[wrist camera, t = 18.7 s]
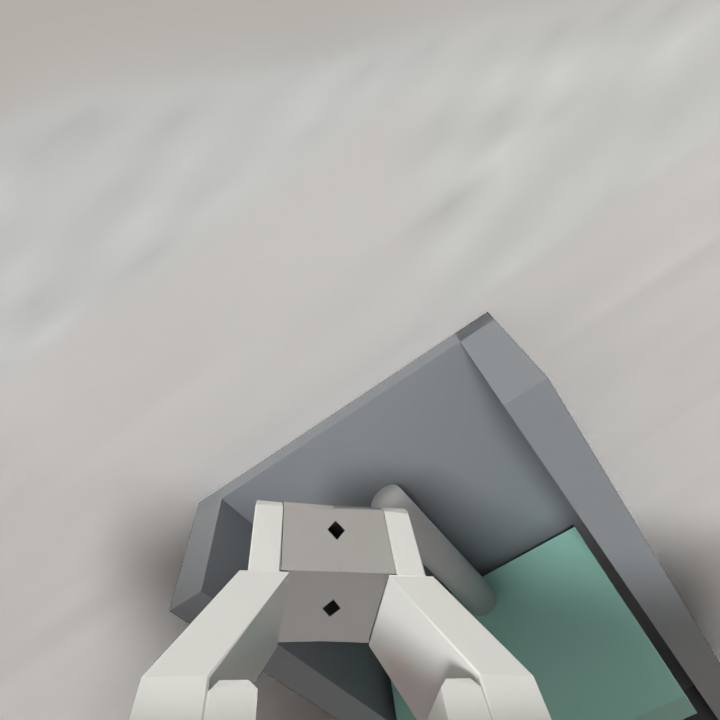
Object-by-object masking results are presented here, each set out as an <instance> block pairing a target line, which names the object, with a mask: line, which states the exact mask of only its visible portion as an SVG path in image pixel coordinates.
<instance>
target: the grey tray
mask: <svg viewBox="0 0 720 720" xmlns="http://www.w3.org/2000/svg"><path fill="white" fill-rule="evenodd" d="M388 485H397V486H399V487H400V488H401V489H402V490H403V492H404V493H405V494H406V495H407V496H408V497H409V498H410V499H411V500H412V501H413V502H414V503H415V505H416V506H417V507H418V508H419V509H420V510H421V511H422V512H423V513H424V514H425V515H426V517H427V518H428V519H429V520H430V521H431V522H432V523H433V524H434V525H435V526H436V527H437V528H438V530H439V531H440V532H441V533H442V534H443V535H444V536H445V537H446V538H447V539H448V540H449V541H450V543H451V544H452V545H453V546H454V547H455V548H456V549H457V550H458V551H459V552H460V553H461V554H462V556H463V557H464V558H465V559H466V560H467V561H468V562H469V563H470V564H471V565H472V566H473V568H474V569H475V570H476V571H477V572H478V573H479V574H480V575H481V576H482V577H483V576H485V575H486V574H488V573H490V572H492V571H494V570H496V569H497V568H499V567H501V566H503V565H505V564H507V563H509V562H510V561H512V560H514V559H516V558H518V557H520V556H521V555H523V554H525V553H527V552H529V551H531V550H533V549H534V548H536V547H538V546H540V545H542V544H544V543H545V542H547V541H549V540H551V539H553V538H555V537H557V536H558V535H560V534H562V533H564V532H566V531H568V530H569V529H571V528H573V527H575V528H576V529H577V530H578V532H579V533H580V535H581V536H582V538H583V539H584V540H585V542H586V543H587V545H588V546H589V548H590V549H591V551H592V552H593V554H594V555H595V557H596V558H597V560H598V562H599V563H600V565H601V566H602V568H603V569H604V571H605V572H606V574H607V575H608V577H609V578H610V580H611V581H612V583H613V585H614V586H615V588H616V589H617V591H618V592H619V594H620V595H621V597H622V598H623V600H624V601H625V603H626V604H627V606H628V607H629V609H630V611H631V612H632V614H633V615H634V617H635V618H636V620H637V621H638V623H639V624H640V626H641V627H642V629H643V630H644V632H645V634H646V635H647V637H648V638H649V640H650V641H651V643H652V644H653V646H654V647H655V649H656V650H657V652H658V653H659V655H660V656H661V658H662V660H663V661H664V663H665V664H666V666H667V667H668V669H669V670H670V672H671V673H672V675H673V676H674V678H675V679H676V681H677V683H678V684H679V686H680V687H681V689H682V690H683V692H684V693H685V695H686V696H687V698H688V699H689V701H690V702H691V704H692V705H693V707H694V709H695V710H696V712H697V713H696V714H694V715H692V716H689V717H687V718H685V720H720V662H719V661H718V659H717V657H716V656H715V654H714V652H713V651H712V649H711V648H710V646H709V644H708V643H707V641H706V639H705V638H704V636H703V634H702V633H701V631H700V629H699V628H698V626H697V624H696V623H695V621H694V619H693V618H692V616H691V614H690V613H689V611H688V609H687V608H686V606H685V604H684V603H683V601H682V599H681V598H680V596H679V594H678V593H677V591H676V589H675V588H674V586H673V584H672V583H671V581H670V579H669V578H668V576H667V574H666V573H665V571H664V569H663V568H662V566H661V564H660V563H659V561H658V559H657V558H656V556H655V554H654V553H653V551H652V549H651V548H650V546H649V545H648V543H647V541H646V540H645V538H644V536H643V535H642V533H641V531H640V530H639V528H638V526H637V525H636V523H635V521H634V520H633V518H632V516H631V515H630V513H629V511H628V510H627V508H626V506H625V505H624V503H623V501H622V500H621V498H620V496H619V495H618V493H617V491H616V490H615V488H614V486H613V485H612V483H611V481H610V480H609V478H608V476H607V475H606V473H605V471H604V470H603V468H602V466H601V465H600V463H599V461H598V460H597V458H596V456H595V455H594V453H593V451H592V450H591V448H590V446H589V445H588V443H587V442H586V440H585V438H584V437H583V435H582V433H581V432H580V430H579V428H578V427H577V425H576V423H575V422H574V420H573V418H572V417H571V415H570V413H569V412H568V410H567V408H566V407H565V405H564V403H563V402H562V400H561V398H560V397H559V395H558V393H557V392H556V390H555V388H554V387H553V385H552V383H551V382H550V380H549V378H548V377H547V376H546V375H545V374H544V373H543V372H542V371H541V369H540V368H539V367H538V366H537V365H536V364H535V363H534V362H533V361H532V360H531V359H530V357H529V356H528V355H527V354H526V353H525V352H524V351H523V350H522V349H521V348H520V347H519V345H518V344H517V343H516V342H515V341H514V340H513V339H512V338H511V337H510V336H509V335H508V334H507V332H506V331H505V330H504V329H503V328H502V327H501V326H500V325H499V324H498V323H497V322H496V320H495V319H494V318H493V317H492V316H491V315H490V314H489V313H488V312H487V313H486V314H484V315H482V316H481V317H479V318H478V319H476V320H475V321H473V322H472V323H470V324H469V325H467V326H466V327H464V328H463V329H461V330H460V331H458V332H457V333H455V334H454V335H452V336H451V337H449V338H448V339H446V340H445V341H443V342H442V343H440V344H439V345H437V346H436V347H434V348H433V349H431V350H430V351H428V352H427V353H425V354H424V355H422V356H421V357H419V358H418V359H416V360H415V361H413V362H412V363H410V364H409V365H407V366H406V367H404V368H403V369H401V370H400V371H398V372H397V373H395V374H394V375H392V376H391V377H389V378H388V379H386V380H385V381H383V382H382V383H380V384H379V385H377V386H375V387H374V388H372V389H371V390H369V391H368V392H366V393H365V394H363V395H362V396H360V397H359V398H357V399H356V400H354V401H353V402H351V403H350V404H348V405H347V406H345V407H344V408H342V409H341V410H339V411H338V412H336V413H335V414H333V415H332V416H330V417H329V418H327V419H326V420H324V421H323V422H321V423H320V424H318V425H317V426H315V427H314V428H312V429H311V430H309V431H308V432H306V433H305V434H303V435H302V436H300V437H299V438H297V439H296V440H294V441H293V442H291V443H290V444H288V445H287V446H285V447H284V448H282V449H281V450H279V451H278V452H276V453H275V454H273V455H271V456H270V457H268V458H267V459H265V460H264V461H262V462H261V463H259V464H258V465H256V466H255V467H253V468H252V469H250V470H249V471H247V472H246V473H244V474H243V475H241V476H240V477H238V478H237V479H235V480H234V481H232V482H231V483H229V484H228V485H226V486H225V487H223V488H222V489H220V490H219V491H217V492H216V493H214V494H213V495H211V496H210V497H208V498H207V499H205V500H204V501H202V502H201V503H199V505H198V509H197V513H196V516H195V520H194V523H193V527H192V531H191V534H190V538H189V541H188V545H187V549H186V552H185V556H184V559H183V563H182V567H181V570H180V574H179V577H178V581H177V585H176V588H175V592H174V595H173V599H172V603H171V606H170V610H169V611H170V612H172V613H173V614H175V615H176V616H178V617H179V618H181V619H182V620H184V621H186V622H187V623H189V624H191V623H192V622H193V620H194V619H195V618H196V617H197V616H198V615H199V614H200V613H201V612H202V611H203V610H204V608H205V607H206V606H207V605H208V604H209V603H210V602H211V601H212V600H213V599H214V598H215V596H216V595H217V594H218V593H219V592H220V591H221V590H222V589H223V588H224V587H225V586H226V584H227V583H228V582H229V581H230V580H231V579H232V578H233V577H234V576H235V575H236V574H237V572H238V571H239V570H248V564H249V556H250V547H251V539H252V530H253V522H254V513H255V506H256V502H257V500H261V501H273V502H282V503H283V502H292V503H305V504H317V505H329V506H352V507H371V503H372V500H373V498H374V496H375V495H376V494H377V492H378V491H379V490H381V489H382V488H383V487H385V486H388ZM423 567H424V571H425V574H426V576H433V577H434V578H435V579H436V580H437V581H438V582H439V583H440V584H441V585H442V586H443V587H444V588H445V589H446V590H447V591H448V592H449V593H450V594H451V593H452V592H451V591H450V590H449V589H448V588H447V587H446V586H445V585H444V584H443V583H442V582H441V581H440V580H439V579H438V578H437V577H436V576H435V575H434V574H433V573H432V572H431V571H430V570H429V569H428V568H427V567H426V566H425V565H424V564H423ZM262 671H263V672H265V673H266V674H268V675H269V676H271V677H272V678H274V679H276V680H277V681H279V682H280V683H282V684H283V685H285V686H286V687H288V688H289V689H291V690H293V691H294V692H296V693H297V694H299V695H300V696H302V697H303V698H305V699H307V700H308V701H310V702H311V703H313V704H314V705H316V706H317V707H319V708H321V709H322V710H324V711H325V712H327V713H328V714H330V715H331V716H333V717H334V718H336V719H338V720H397V718H396V712H395V705H394V698H393V691H392V685H391V679H390V677H389V676H388V674H387V673H386V671H385V670H384V668H383V667H382V665H381V663H380V662H379V660H378V659H377V657H376V656H375V654H374V653H373V651H372V650H371V648H370V646H369V643H359V642H332V641H310V642H278V646H277V647H276V649H275V651H274V652H273V654H272V656H271V657H270V659H269V660H268V662H267V664H266V665H265V667H264V668H263V670H262Z"/></svg>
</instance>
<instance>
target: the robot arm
mask: <svg viewBox="0 0 720 720" xmlns="http://www.w3.org/2000/svg"><path fill="white" fill-rule="evenodd" d="M310 641H332V642H359V643H369V646H370V648H371V650H372V651H373V653H374V654H375V656H376V657H377V659H378V660H379V662H380V663H381V665H382V667H383V668H384V670H385V671H386V673H387V674H388V676H389V677H390V679H391V680H392V682H393V684H394V685H395V687H396V688H397V690H398V691H399V693H400V694H401V696H402V697H403V699H404V701H405V702H406V704H407V705H408V707H409V708H410V710H411V711H412V713H413V714H414V716H415V718H416V719H417V720H551V717H550V715H549V712H548V710H547V707H546V705H545V703H544V700H543V698H542V695H541V693H540V691H539V688H538V686H537V683H536V681H535V678H534V676H533V675H532V674H531V673H530V672H529V671H528V670H527V669H526V668H525V667H524V666H523V665H522V664H521V663H520V662H519V661H518V660H517V659H516V658H515V657H514V656H513V655H512V654H511V653H510V652H509V651H508V650H507V649H506V648H505V647H504V646H503V645H502V644H501V643H500V642H499V641H498V640H497V639H496V638H495V637H494V636H493V635H492V634H491V633H490V632H489V631H488V630H487V629H486V628H485V627H484V626H483V625H482V624H481V623H480V622H479V621H478V620H477V619H476V618H475V617H474V616H473V615H472V614H471V613H470V612H469V611H468V610H467V609H466V608H465V607H464V606H463V605H462V604H461V603H460V602H459V601H458V600H457V599H456V598H455V597H454V596H453V595H452V594H450V593H449V592H448V591H447V590H446V589H445V588H444V587H443V586H442V585H441V584H440V583H439V582H438V581H437V580H436V579H435V578H434V577H433V576H426V574H425V571H424V567H423V563H422V560H421V556H420V553H419V549H418V545H417V542H416V538H415V535H414V531H413V527H412V524H411V520H410V517H409V513H408V511H407V510H406V509H401V508H381V509H380V508H373V507H352V506H329V505H317V504H305V503H292V502H283V503H282V502H273V501H261V500H257V502H256V506H255V513H254V522H253V530H252V539H251V547H250V556H249V564H248V570H239V571H238V572H237V574H236V575H235V576H234V577H233V578H232V579H231V580H230V581H229V582H228V583H227V584H226V586H225V587H224V588H223V589H222V590H221V591H220V592H219V593H218V594H217V595H216V596H215V598H214V599H213V600H212V601H211V602H210V603H209V604H208V605H207V606H206V607H205V608H204V610H203V611H202V612H201V613H200V614H199V615H198V616H197V617H196V618H195V619H194V620H193V622H192V623H191V624H190V625H189V626H188V627H187V628H186V629H185V630H184V631H183V632H182V634H181V635H180V636H179V637H178V638H177V639H176V640H175V641H174V642H173V643H172V644H171V646H170V647H169V648H168V649H167V650H166V651H165V652H164V653H163V654H162V655H161V656H160V658H159V659H158V660H157V661H156V662H155V663H154V664H153V665H152V666H151V667H150V668H149V670H148V671H147V672H146V673H145V674H144V675H143V676H142V677H141V680H140V683H139V687H138V690H137V694H136V697H135V701H134V704H133V708H132V711H131V714H130V718H129V720H256V709H257V694H258V689H257V688H256V687H255V686H254V683H255V681H256V680H257V678H258V677H259V675H260V673H261V672H262V670H263V668H264V667H265V665H266V664H267V662H268V660H269V659H270V657H271V656H272V654H273V652H274V651H275V649H276V647H277V646H278V642H310Z"/></svg>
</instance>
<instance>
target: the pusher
mask: <svg viewBox="0 0 720 720" xmlns="http://www.w3.org/2000/svg"><path fill="white" fill-rule="evenodd" d="M371 507H373V508H380V509H381V508H401V509H406V510H407V511H408V513H409V517H410V520H411V524H412V527H413V531H414V535H415V538H416V542H417V545H418V549H419V553H420V556H421V560H422V563H423V564H424V565H425V566H426V567H427V568H428V569H429V570H430V571H431V572H432V573H433V574H434V575H435V576H436V577H437V578H438V579H439V580H440V581H441V582H442V583H443V584H444V585H445V586H446V587H447V588H448V589H449V590H450V591H451V592H452V593H451V594H452V595H453V596H454V597H455V598H456V599H457V600H458V601H459V602H460V603H461V604H462V605H463V606H464V607H465V608H466V609H467V610H468V611H469V612H470V613H471V614H472V615H473V616H474V617H475V618H476V619H477V620H478V621H479V622H480V623H481V624H482V625H483V626H484V627H485V628H486V629H487V630H488V631H489V632H490V633H491V634H492V635H493V636H494V637H495V638H496V639H497V640H498V641H499V642H500V643H501V644H502V645H503V646H504V647H505V648H506V649H507V650H508V651H509V652H510V653H511V654H512V655H513V656H514V657H515V658H516V659H517V660H518V661H519V662H520V663H521V664H522V665H523V666H524V667H525V668H526V669H527V670H528V671H529V672H530V673H531V674H532V675H533V676H534V678H535V681H536V683H537V686H538V688H539V691H540V693H541V695H542V698H543V700H544V703H545V705H546V707H547V710H548V712H549V715H550V717H551V720H683V719H685V718H687V717H689V716H692V715H694V714H696V713H697V712H696V710H695V709H694V707H693V705H692V704H691V702H690V701H689V699H688V698H687V696H686V695H685V693H684V692H683V690H682V689H681V687H680V686H679V684H678V683H677V681H676V679H675V678H674V676H673V675H672V673H671V672H670V670H669V669H668V667H667V666H666V664H665V663H664V661H663V660H662V658H661V656H660V655H659V653H658V652H657V650H656V649H655V647H654V646H653V644H652V643H651V641H650V640H649V638H648V637H647V635H646V634H645V632H644V630H643V629H642V627H641V626H640V624H639V623H638V621H637V620H636V618H635V617H634V615H633V614H632V612H631V611H630V609H629V607H628V606H627V604H626V603H625V601H624V600H623V598H622V597H621V595H620V594H619V592H618V591H617V589H616V588H615V586H614V585H613V583H612V581H611V580H610V578H609V577H608V575H607V574H606V572H605V571H604V569H603V568H602V566H601V565H600V563H599V562H598V560H597V558H596V557H595V555H594V554H593V552H592V551H591V549H590V548H589V546H588V545H587V543H586V542H585V540H584V539H583V538H582V536H581V535H580V533H579V532H578V530H577V529H576V528H575V527H573V528H571V529H569V530H568V531H566V532H564V533H562V534H560V535H558V536H557V537H555V538H553V539H551V540H549V541H547V542H545V543H544V544H542V545H540V546H538V547H536V548H534V549H533V550H531V551H529V552H527V553H525V554H523V555H521V556H520V557H518V558H516V559H514V560H512V561H510V562H509V563H507V564H505V565H503V566H501V567H499V568H497V569H496V570H494V571H492V572H490V573H488V574H486V575H485V576H483V577H482V576H481V575H480V574H479V573H478V572H477V571H476V570H475V569H474V568H473V566H472V565H471V564H470V563H469V562H468V561H467V560H466V559H465V558H464V557H463V556H462V554H461V553H460V552H459V551H458V550H457V549H456V548H455V547H454V546H453V545H452V544H451V543H450V541H449V540H448V539H447V538H446V537H445V536H444V535H443V534H442V533H441V532H440V531H439V530H438V528H437V527H436V526H435V525H434V524H433V523H432V522H431V521H430V520H429V519H428V518H427V517H426V515H425V514H424V513H423V512H422V511H421V510H420V509H419V508H418V507H417V506H416V505H415V503H414V502H413V501H412V500H411V499H410V498H409V497H408V496H407V495H406V494H405V493H404V492H403V490H402V489H401V488H400V487H399V486H397V485H388V486H385V487H383V488H382V489H381V490H379V491H378V492H377V494H376V495H375V496H374V498H373V500H372V503H371ZM391 685H392V691H393V698H394V705H395V712H396V718H397V720H417V719H416V718H415V716H414V714H413V713H412V711H411V710H410V708H409V707H408V705H407V704H406V702H405V701H404V699H403V697H402V696H401V694H400V693H399V691H398V690H397V688H396V687H395V685H394V684H393V682H392V680H391Z"/></svg>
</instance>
